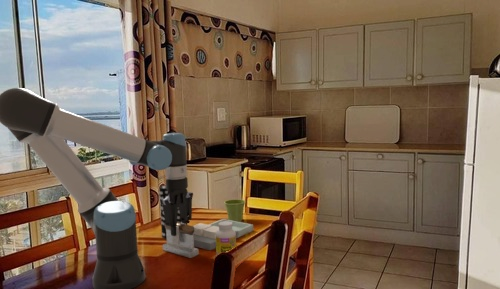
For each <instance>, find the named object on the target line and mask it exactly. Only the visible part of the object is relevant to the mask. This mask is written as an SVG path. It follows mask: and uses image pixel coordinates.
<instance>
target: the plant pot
mask: <svg viewBox="0 0 500 289" xmlns="http://www.w3.org/2000/svg"><path fill="white" fill-rule="evenodd" d="M223 203H224V205H225V208H226V213H227V220H232V221H237V222H243V218H244V207H245V205H246V204H245V203H246V200H244V199H239V198H237V199H236V198H235V199H234V198H233V199H227V200H225V201H224V202H223Z"/></svg>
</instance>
